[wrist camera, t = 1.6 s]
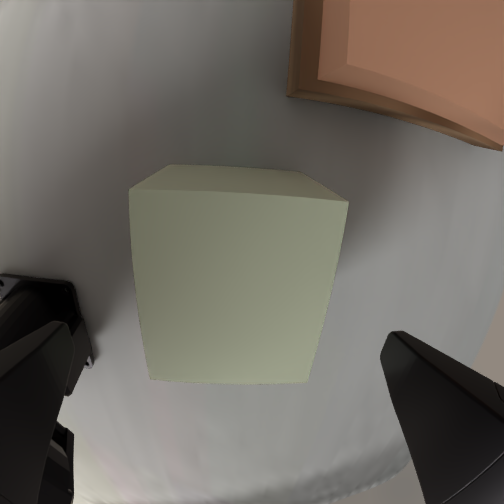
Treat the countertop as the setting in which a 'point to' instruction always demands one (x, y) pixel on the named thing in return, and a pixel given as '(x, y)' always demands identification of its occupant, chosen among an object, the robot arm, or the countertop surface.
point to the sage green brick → (233, 271)
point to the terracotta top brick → (421, 55)
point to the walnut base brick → (309, 87)
